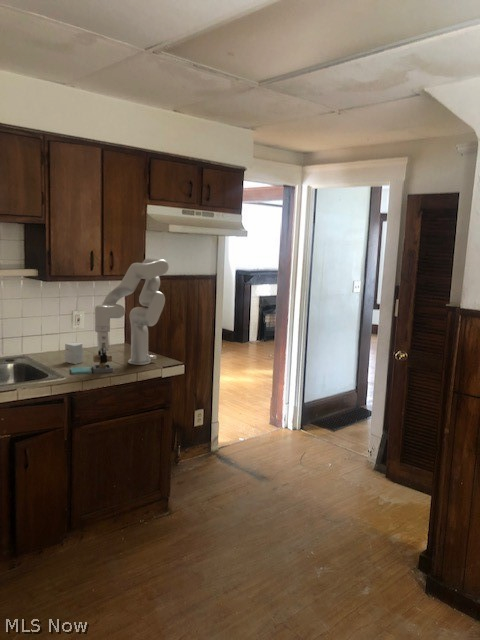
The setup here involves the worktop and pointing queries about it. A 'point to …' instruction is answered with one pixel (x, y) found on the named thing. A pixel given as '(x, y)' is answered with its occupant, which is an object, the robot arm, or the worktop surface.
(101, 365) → the t-key
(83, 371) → the tile
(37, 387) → the worktop surface
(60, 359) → the worktop surface
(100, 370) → the socket
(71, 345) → the small box
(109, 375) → the worktop surface
